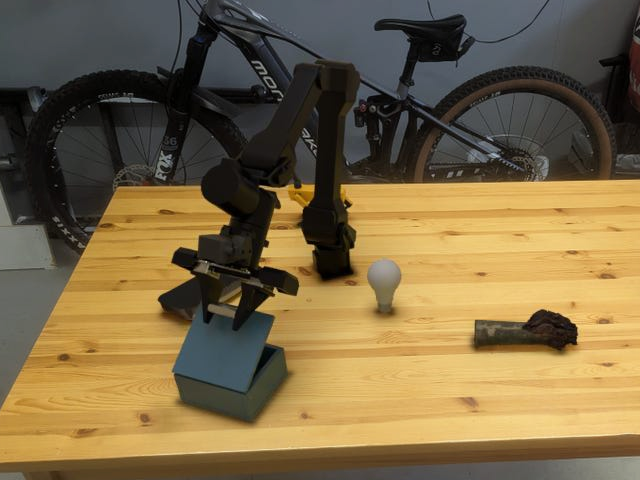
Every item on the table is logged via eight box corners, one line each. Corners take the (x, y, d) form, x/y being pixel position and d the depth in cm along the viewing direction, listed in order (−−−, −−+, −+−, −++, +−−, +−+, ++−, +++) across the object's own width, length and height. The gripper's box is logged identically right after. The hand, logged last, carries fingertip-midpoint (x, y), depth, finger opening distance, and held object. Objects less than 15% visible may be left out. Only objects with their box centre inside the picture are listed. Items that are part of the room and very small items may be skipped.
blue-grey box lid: (204, 299, 104) (190, 287, 99) (275, 317, 101) (264, 305, 96) (173, 373, 101) (157, 364, 96) (246, 393, 97) (233, 385, 93)
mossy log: (474, 351, 115) (476, 326, 111) (473, 327, 120) (475, 302, 116) (576, 355, 114) (582, 329, 110) (571, 331, 119) (576, 306, 116)
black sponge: (187, 328, 118) (183, 312, 116) (157, 311, 122) (153, 295, 119) (256, 287, 128) (253, 271, 126) (226, 272, 132) (223, 256, 130)
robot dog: (275, 212, 150) (268, 157, 142) (353, 218, 149) (351, 162, 141) (268, 225, 146) (260, 168, 138) (348, 231, 145) (345, 174, 136)
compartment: (221, 356, 113) (215, 329, 109) (288, 374, 109) (284, 347, 106) (181, 401, 104) (173, 374, 100) (251, 422, 101) (245, 395, 97)
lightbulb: (405, 305, 124) (406, 255, 117) (394, 324, 120) (394, 274, 113) (375, 299, 126) (374, 249, 119) (363, 317, 121) (361, 267, 114)
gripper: (164, 197, 94) (132, 303, 93) (281, 221, 89) (249, 333, 88) (206, 221, 105) (178, 316, 103) (312, 244, 100) (284, 344, 99)
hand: (220, 327), depth 98 cm, fingers closed on blue-grey box lid, 4 cm apart
